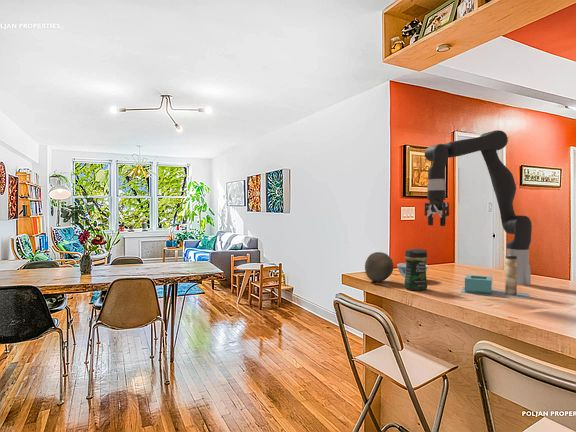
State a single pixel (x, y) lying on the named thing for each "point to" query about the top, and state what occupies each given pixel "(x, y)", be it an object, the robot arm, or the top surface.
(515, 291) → the dowel
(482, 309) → the top surface
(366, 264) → the dark grey ball
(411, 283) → the coffee jar
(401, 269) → the chinaware
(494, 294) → the board
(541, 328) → the top surface
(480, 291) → the teal open box
